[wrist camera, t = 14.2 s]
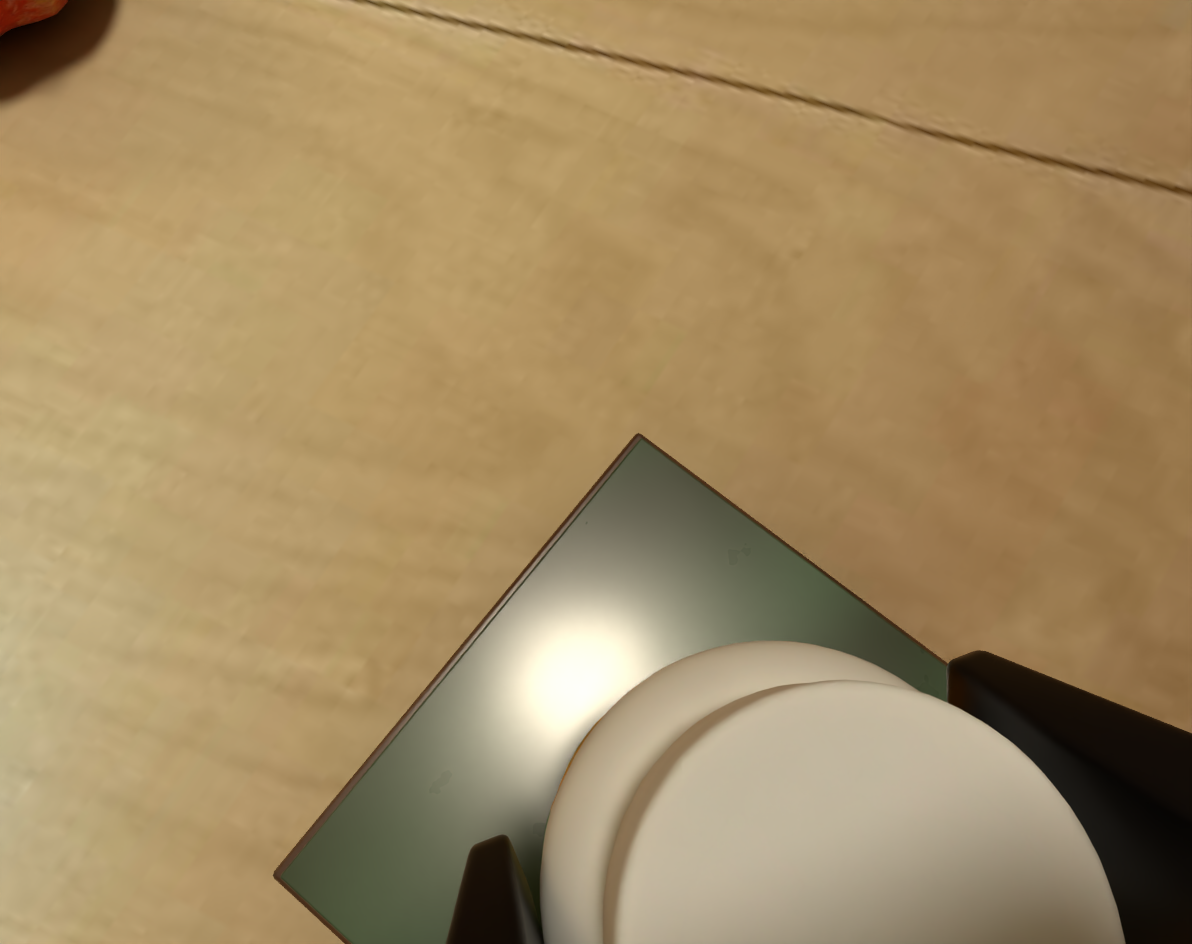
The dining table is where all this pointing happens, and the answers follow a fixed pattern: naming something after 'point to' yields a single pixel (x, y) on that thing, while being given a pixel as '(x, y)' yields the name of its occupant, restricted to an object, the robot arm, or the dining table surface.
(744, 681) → the supplement bottle
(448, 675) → the stand
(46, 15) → the pomegranate
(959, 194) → the dining table surface
